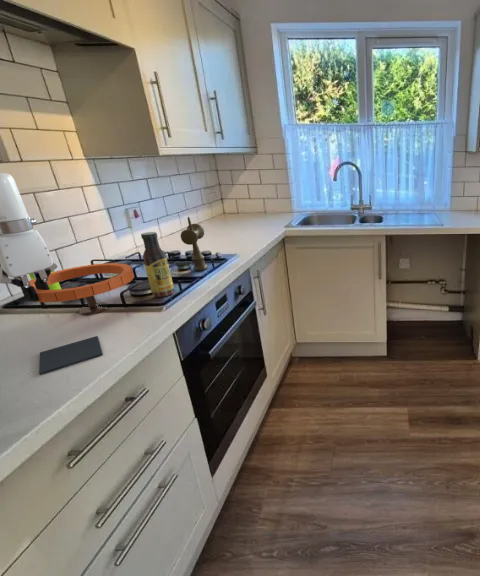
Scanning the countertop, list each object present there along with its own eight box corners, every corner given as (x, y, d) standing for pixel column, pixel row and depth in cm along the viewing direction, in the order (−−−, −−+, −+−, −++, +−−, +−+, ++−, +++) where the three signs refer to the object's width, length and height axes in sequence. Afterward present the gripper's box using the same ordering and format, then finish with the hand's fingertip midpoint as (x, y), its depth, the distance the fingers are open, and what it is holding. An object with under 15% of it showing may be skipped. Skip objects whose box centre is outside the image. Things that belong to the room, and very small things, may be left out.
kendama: (212, 264, 141) (200, 213, 133) (206, 273, 132) (193, 219, 125) (195, 266, 140) (183, 214, 132) (188, 274, 131) (174, 220, 123)
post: (80, 317, 101) (72, 297, 99) (78, 309, 106) (71, 290, 104) (110, 309, 105) (103, 290, 103) (107, 302, 110) (100, 283, 108)
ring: (22, 310, 86) (18, 300, 85) (29, 284, 104) (26, 275, 103) (139, 285, 100) (137, 277, 100) (128, 266, 118) (126, 258, 117)
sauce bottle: (163, 299, 111) (145, 236, 104) (148, 297, 113) (129, 235, 106) (180, 291, 117) (164, 231, 109) (165, 289, 119) (149, 230, 111)
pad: (39, 374, 77) (39, 373, 76) (40, 353, 84) (39, 352, 84) (102, 354, 83) (102, 353, 83) (97, 337, 91) (97, 335, 91)
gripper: (36, 220, 93) (61, 286, 100) (-45, 234, 79) (-10, 310, 86) (58, 221, 92) (82, 288, 98) (-21, 235, 77) (13, 313, 84)
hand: (39, 298), depth 92 cm, fingers closed on ring, 2 cm apart
